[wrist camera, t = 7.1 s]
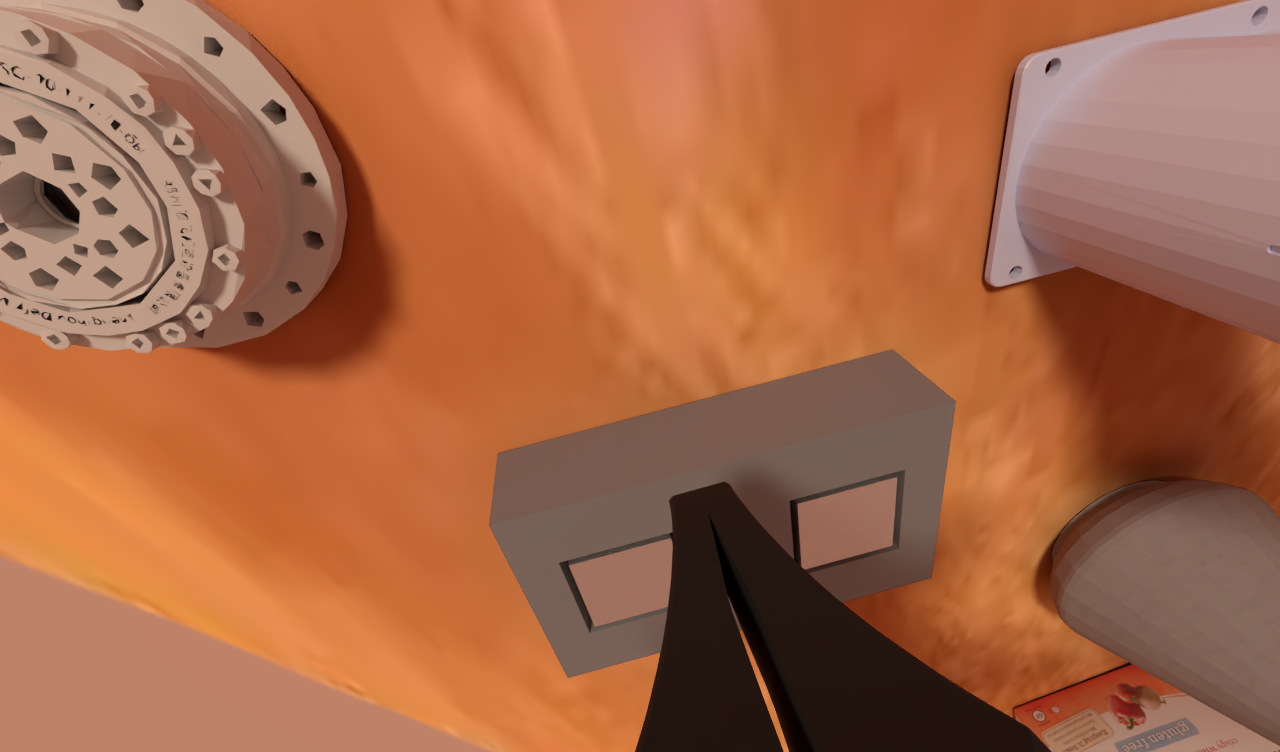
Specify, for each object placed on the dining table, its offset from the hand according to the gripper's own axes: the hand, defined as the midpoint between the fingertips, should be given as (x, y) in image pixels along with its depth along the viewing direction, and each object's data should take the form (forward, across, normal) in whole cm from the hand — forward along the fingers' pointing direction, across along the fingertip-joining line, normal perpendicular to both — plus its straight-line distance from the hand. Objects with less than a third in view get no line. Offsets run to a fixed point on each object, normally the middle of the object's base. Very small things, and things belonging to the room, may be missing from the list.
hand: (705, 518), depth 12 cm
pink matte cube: (+9, -6, +8) cm, 14 cm away
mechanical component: (+10, +12, -9) cm, 18 cm away
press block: (+9, -2, +8) cm, 13 cm away
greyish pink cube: (+9, +3, +8) cm, 13 cm away
